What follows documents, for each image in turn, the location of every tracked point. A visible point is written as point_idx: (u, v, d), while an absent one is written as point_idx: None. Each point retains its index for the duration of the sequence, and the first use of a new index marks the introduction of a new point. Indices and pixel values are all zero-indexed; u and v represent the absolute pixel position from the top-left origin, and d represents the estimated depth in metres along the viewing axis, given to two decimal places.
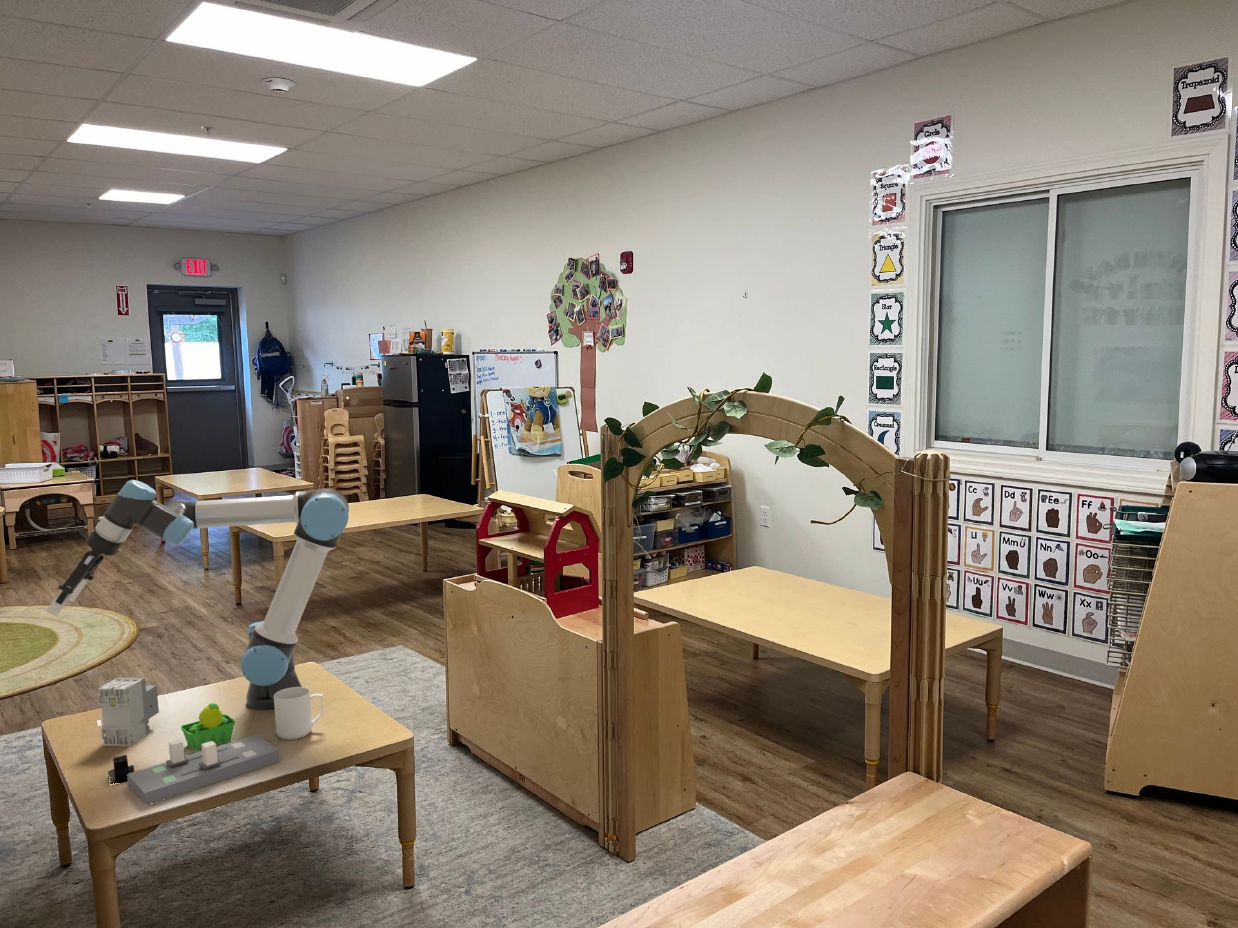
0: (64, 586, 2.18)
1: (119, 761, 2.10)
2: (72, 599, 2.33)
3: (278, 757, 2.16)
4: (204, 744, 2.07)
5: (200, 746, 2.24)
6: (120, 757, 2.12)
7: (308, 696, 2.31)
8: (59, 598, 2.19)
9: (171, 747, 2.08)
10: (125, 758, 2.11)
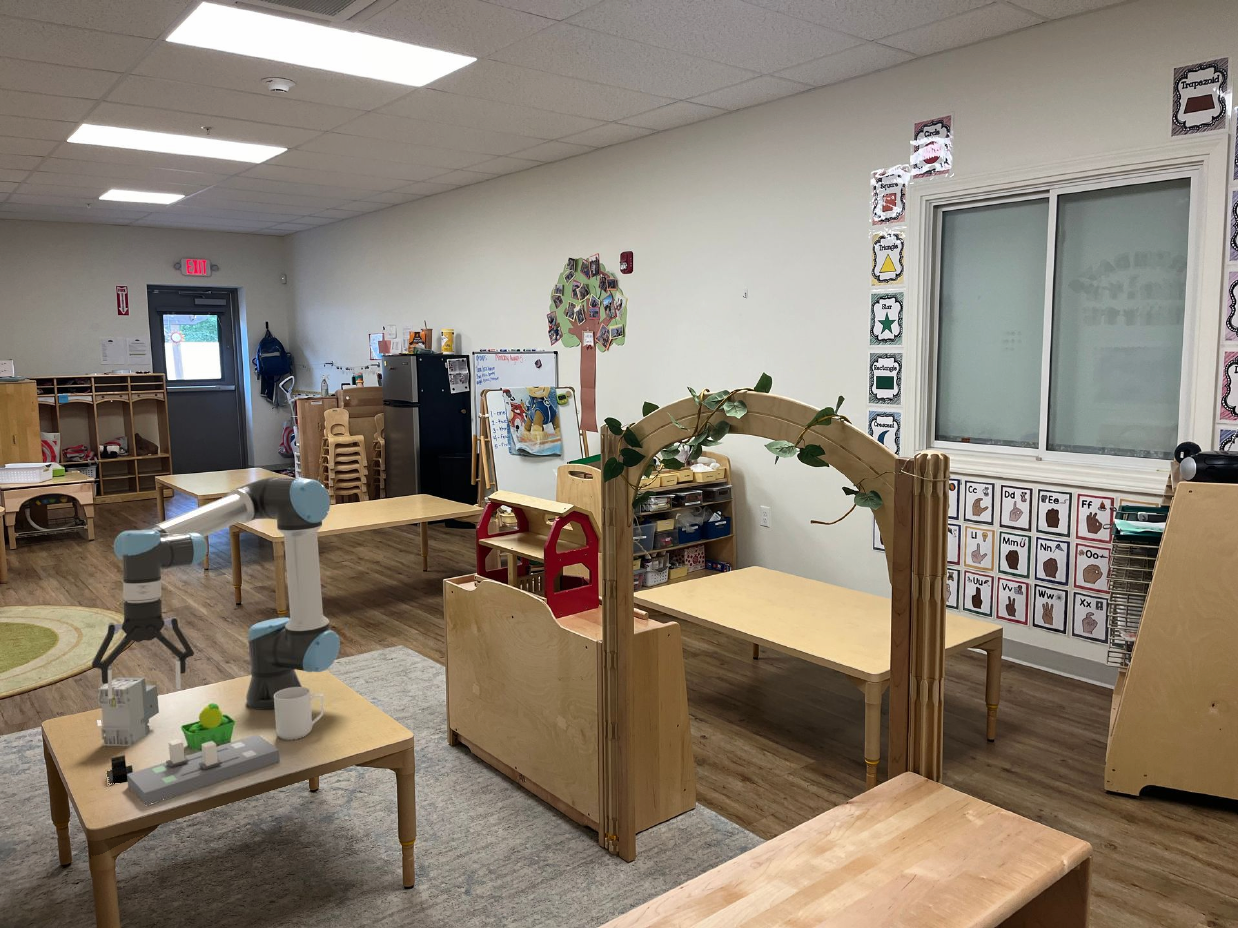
0: (192, 650, 2.06)
1: (117, 761, 2.09)
2: None
3: (278, 757, 2.16)
4: (204, 744, 2.07)
5: (200, 746, 2.24)
6: (118, 757, 2.12)
7: (308, 696, 2.31)
8: None
9: (171, 747, 2.08)
10: (123, 758, 2.11)
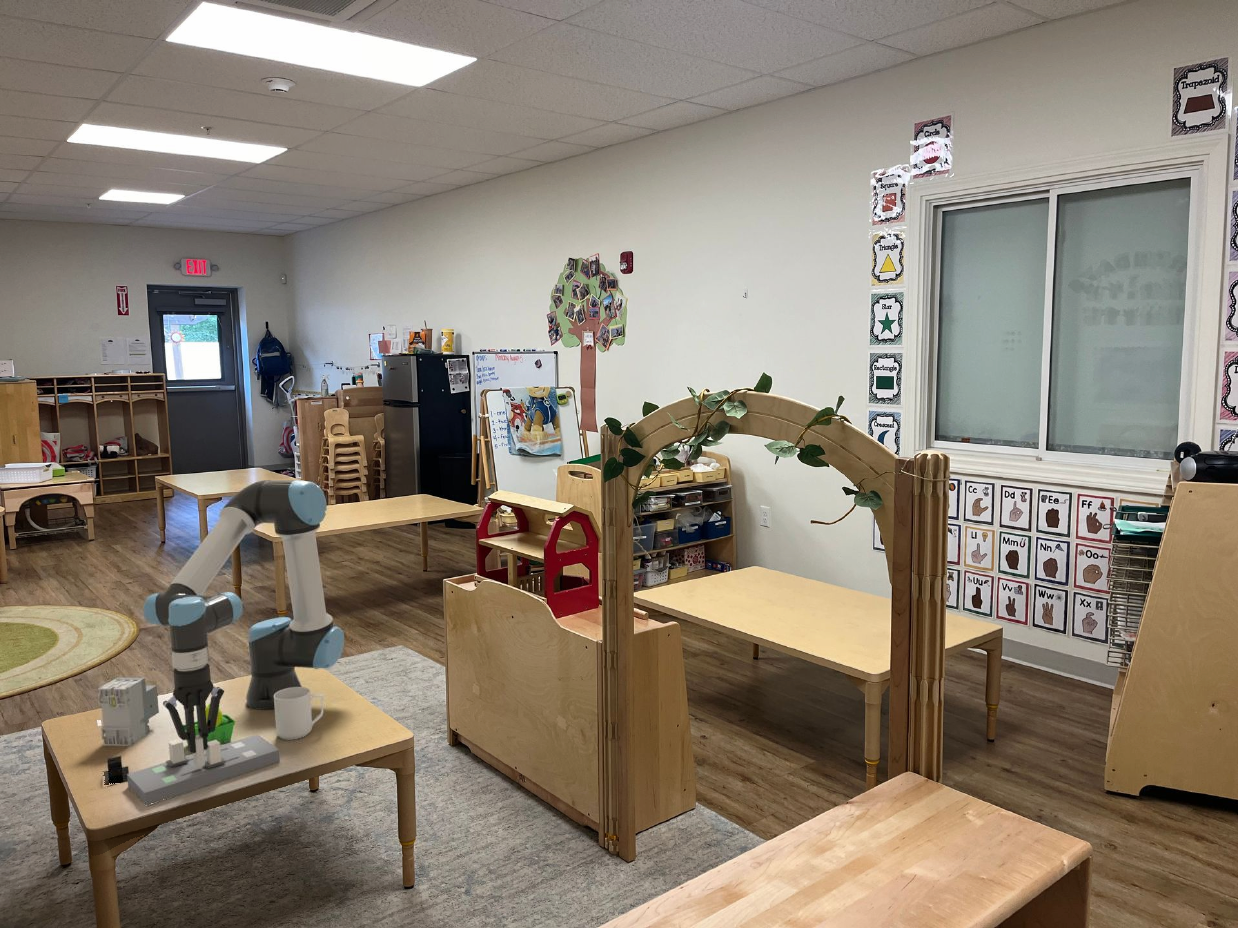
0: None
1: (113, 762, 2.09)
2: None
3: (278, 757, 2.16)
4: (208, 743, 2.08)
5: None
6: (114, 758, 2.11)
7: (308, 696, 2.31)
8: None
9: (171, 747, 2.08)
10: (119, 759, 2.11)
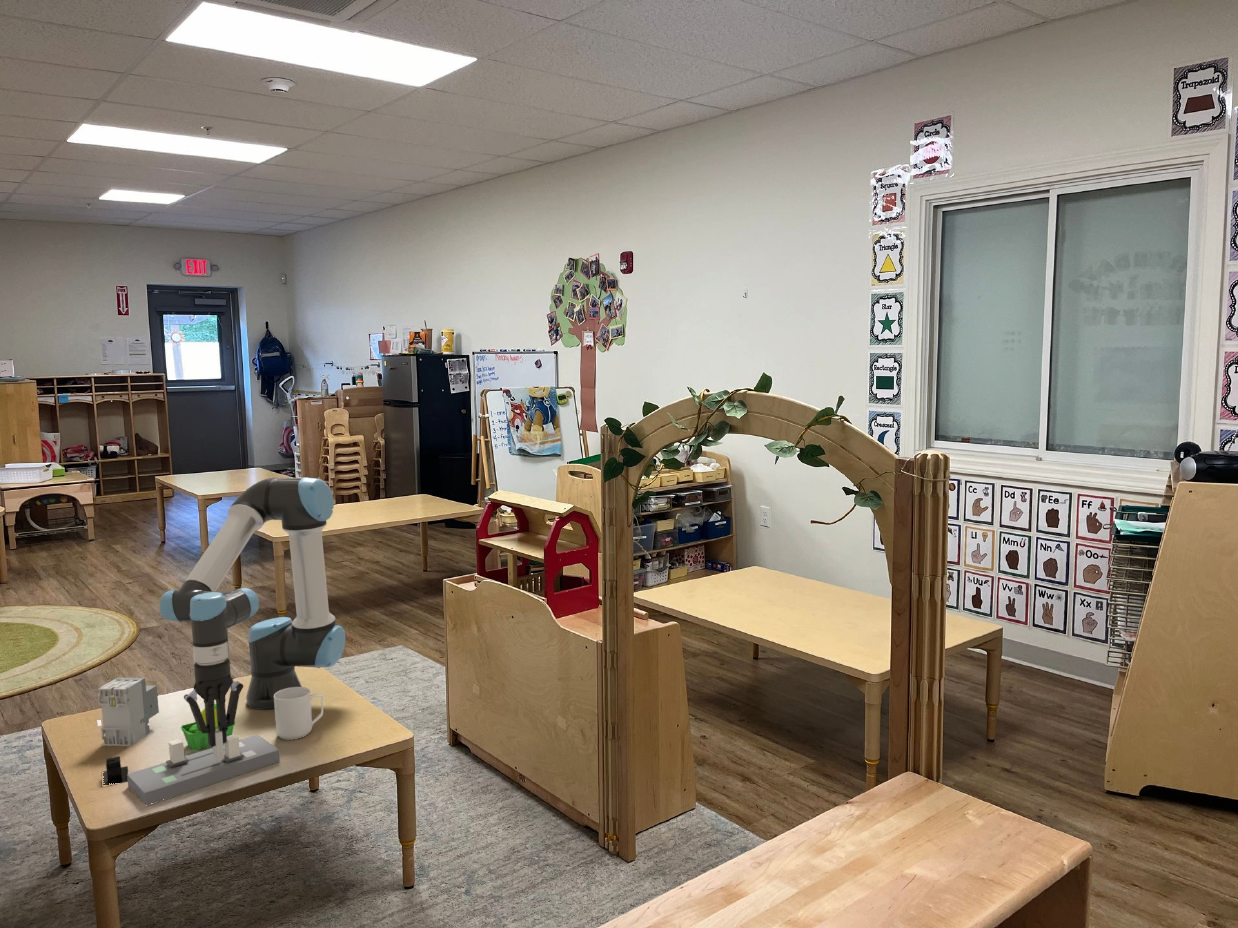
0: None
1: (112, 762, 2.09)
2: None
3: (278, 757, 2.16)
4: (227, 737, 2.11)
5: (200, 746, 2.24)
6: (113, 758, 2.11)
7: (308, 696, 2.31)
8: None
9: (171, 747, 2.08)
10: (118, 759, 2.10)
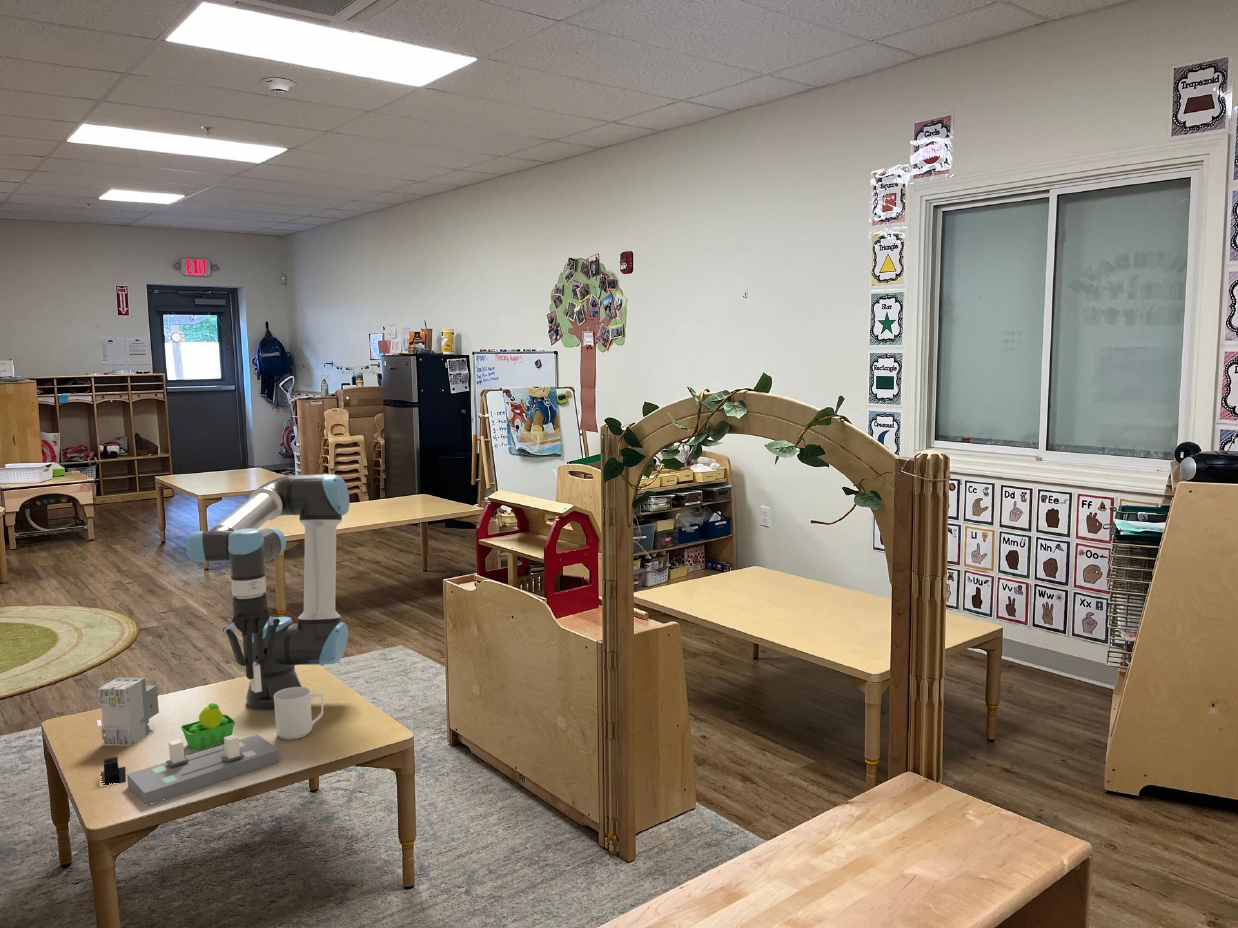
0: None
1: (109, 763, 2.09)
2: None
3: (278, 757, 2.16)
4: (226, 737, 2.11)
5: (200, 746, 2.24)
6: (111, 759, 2.11)
7: (308, 696, 2.31)
8: None
9: (171, 747, 2.08)
10: (115, 760, 2.10)
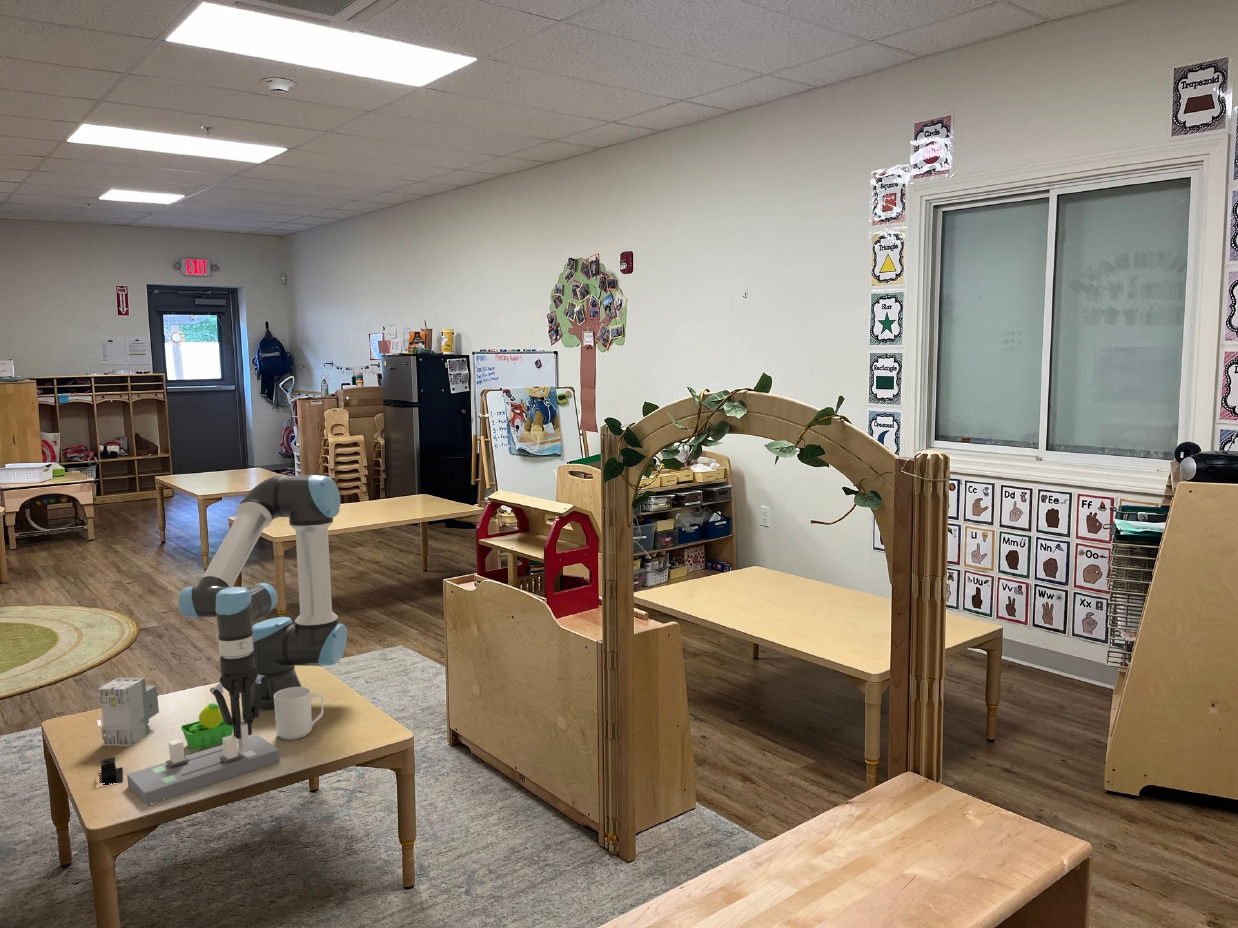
0: None
1: (106, 763, 2.09)
2: None
3: (278, 757, 2.16)
4: (225, 738, 2.11)
5: (200, 746, 2.24)
6: (108, 759, 2.11)
7: (308, 696, 2.31)
8: None
9: (171, 747, 2.08)
10: (113, 760, 2.10)
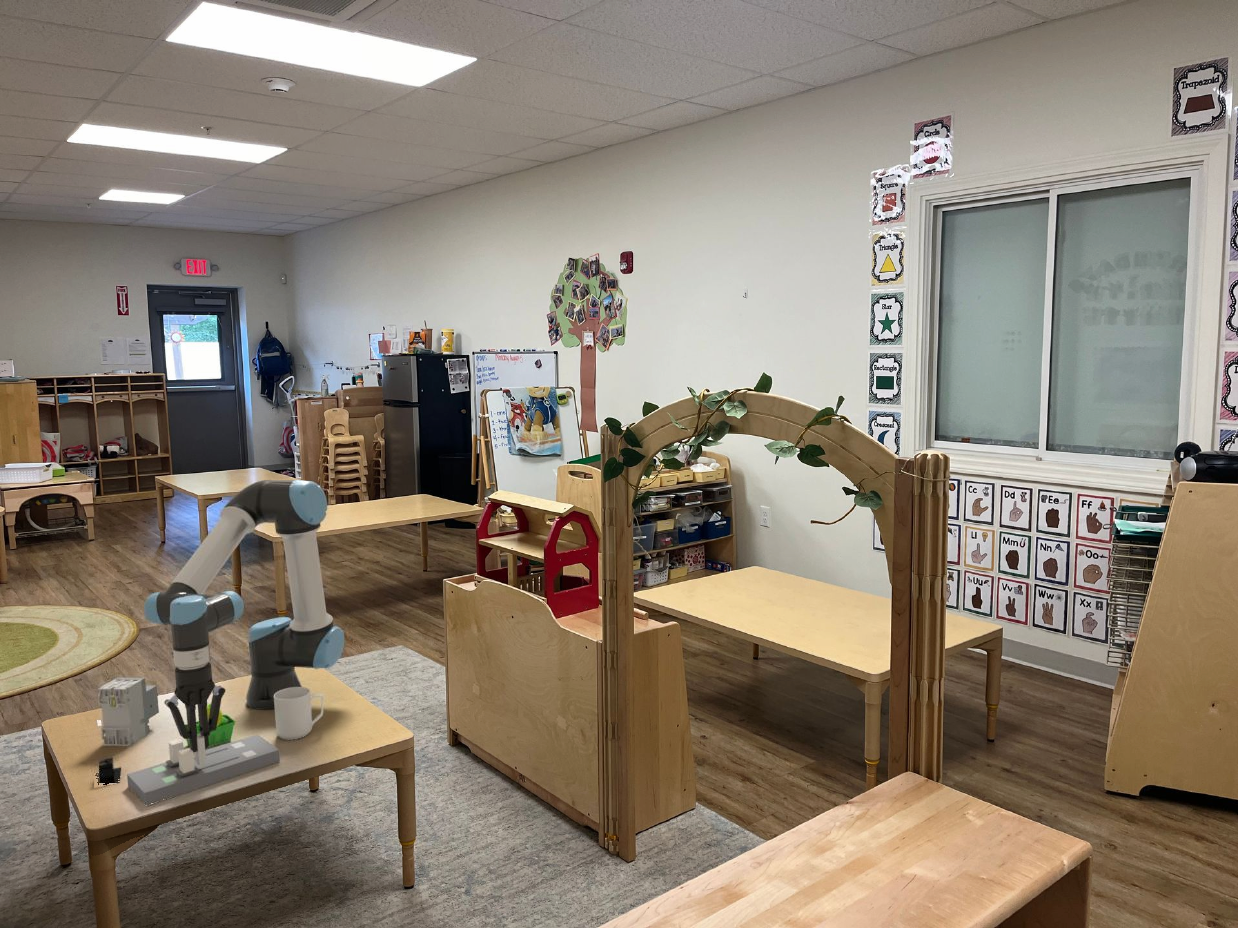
0: None
1: (104, 764, 2.08)
2: None
3: (278, 757, 2.16)
4: (181, 751, 2.04)
5: None
6: (106, 760, 2.11)
7: (308, 696, 2.31)
8: None
9: (171, 747, 2.08)
10: (111, 761, 2.10)
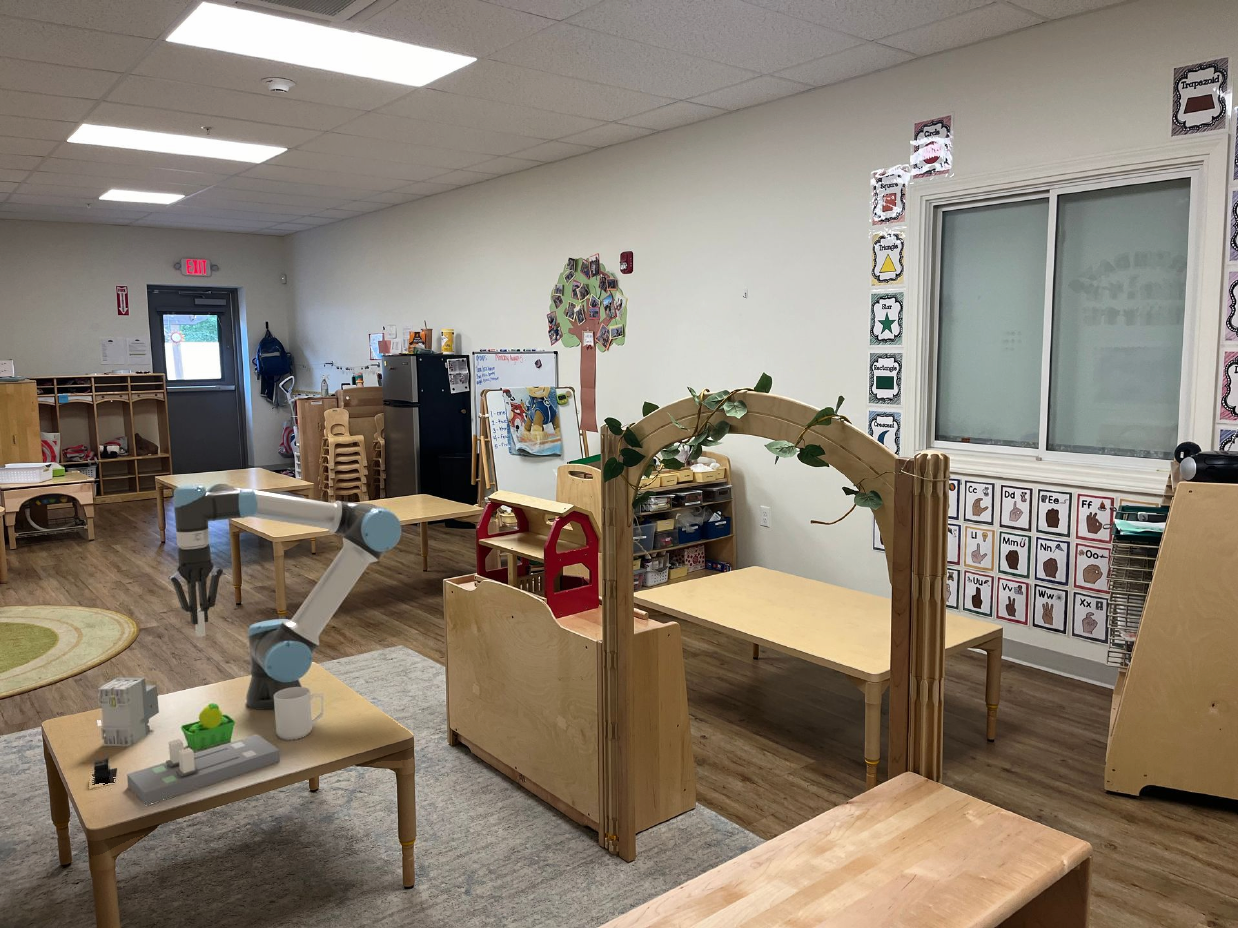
0: None
1: (100, 765, 2.08)
2: None
3: (278, 757, 2.16)
4: (181, 751, 2.04)
5: (200, 746, 2.24)
6: (102, 760, 2.10)
7: (308, 696, 2.31)
8: None
9: (171, 747, 2.08)
10: (106, 762, 2.09)
